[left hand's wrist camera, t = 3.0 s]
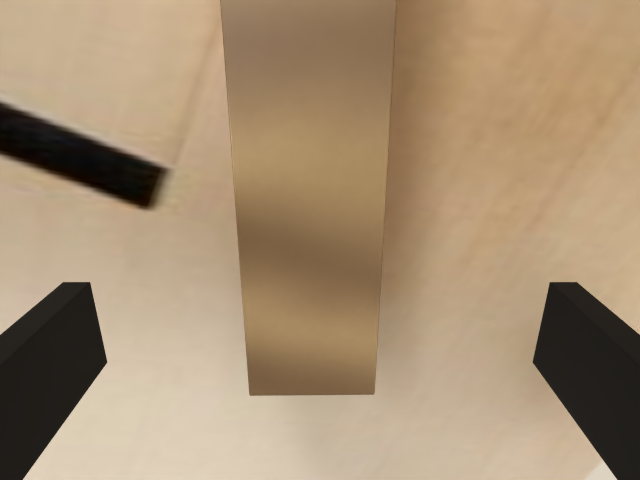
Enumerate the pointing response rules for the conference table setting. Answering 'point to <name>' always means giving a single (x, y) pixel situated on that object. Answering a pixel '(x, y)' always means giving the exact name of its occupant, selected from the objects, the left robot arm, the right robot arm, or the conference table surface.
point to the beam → (310, 186)
